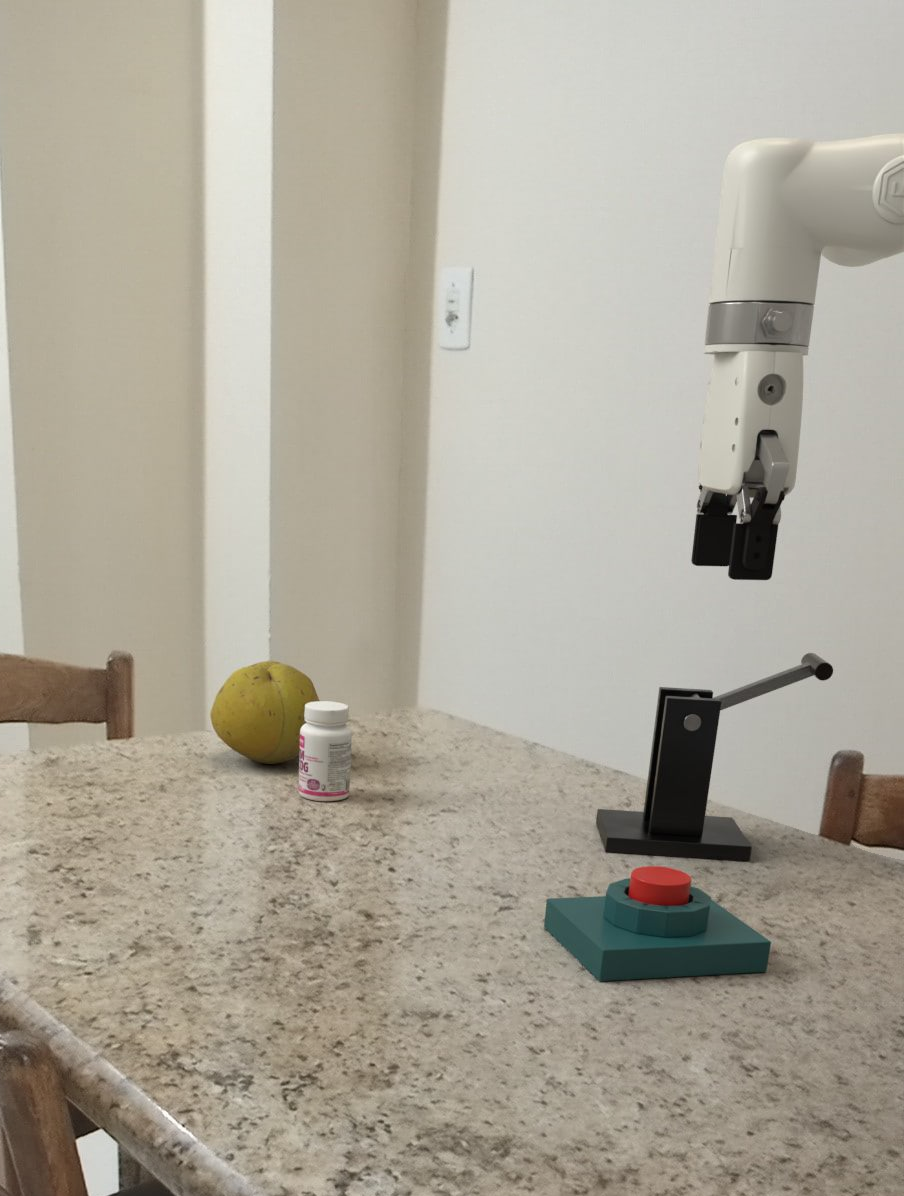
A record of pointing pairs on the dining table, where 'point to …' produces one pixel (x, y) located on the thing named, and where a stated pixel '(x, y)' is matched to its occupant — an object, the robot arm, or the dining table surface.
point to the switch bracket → (678, 788)
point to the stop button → (660, 886)
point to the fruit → (263, 711)
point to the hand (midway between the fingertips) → (729, 572)
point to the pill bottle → (325, 752)
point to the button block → (654, 936)
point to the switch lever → (778, 681)
